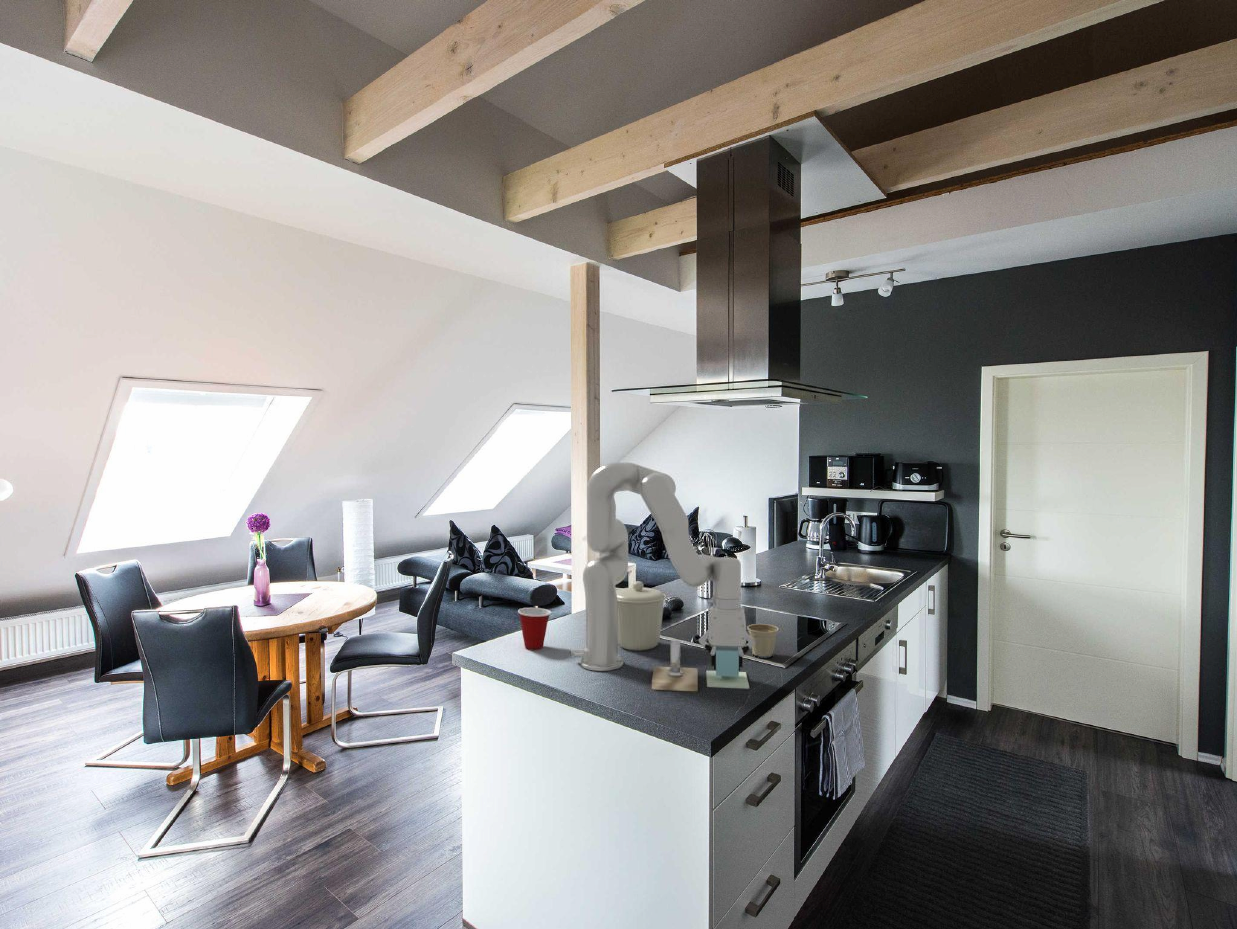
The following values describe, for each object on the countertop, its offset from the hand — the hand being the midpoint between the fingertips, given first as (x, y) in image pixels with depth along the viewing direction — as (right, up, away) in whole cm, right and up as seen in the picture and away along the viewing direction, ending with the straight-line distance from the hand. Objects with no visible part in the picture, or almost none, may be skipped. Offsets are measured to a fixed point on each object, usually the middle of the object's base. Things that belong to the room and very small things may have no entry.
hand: (726, 668), depth 171 cm
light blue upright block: (0, -1, 0) cm, 1 cm away
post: (-14, -1, -1) cm, 14 cm away
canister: (-23, -3, +31) cm, 39 cm away
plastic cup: (-57, -3, +30) cm, 64 cm away
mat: (0, -3, 0) cm, 3 cm away
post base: (-14, -3, -1) cm, 15 cm away
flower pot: (+15, -3, +21) cm, 26 cm away
